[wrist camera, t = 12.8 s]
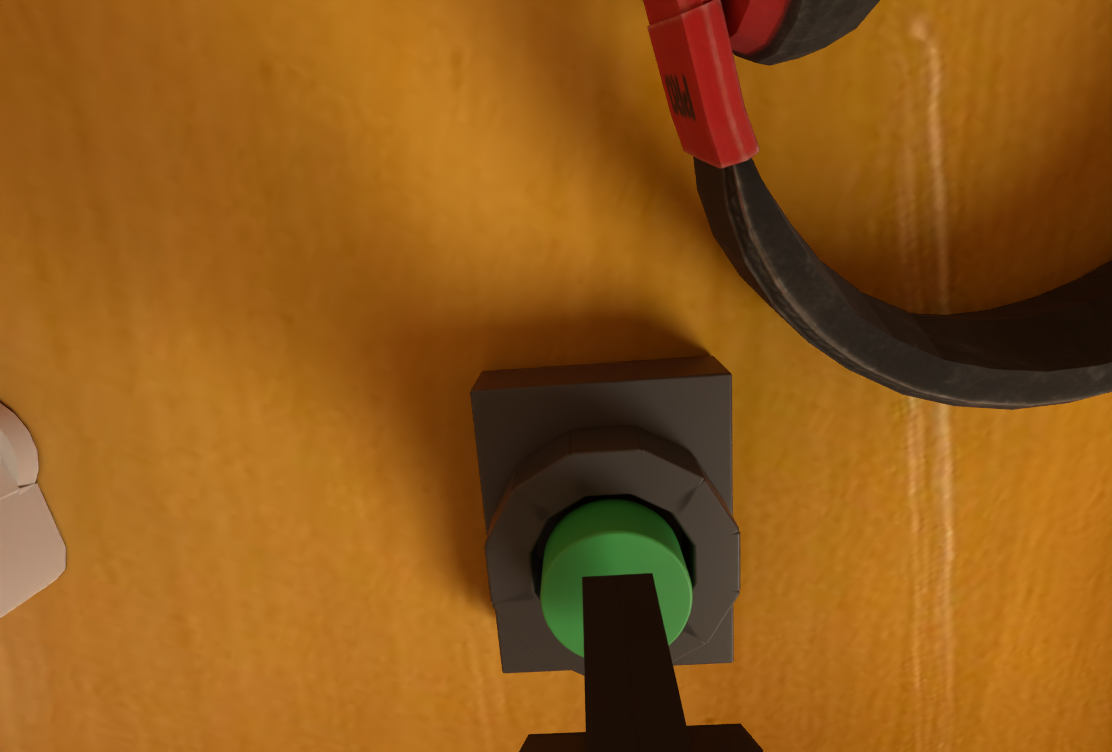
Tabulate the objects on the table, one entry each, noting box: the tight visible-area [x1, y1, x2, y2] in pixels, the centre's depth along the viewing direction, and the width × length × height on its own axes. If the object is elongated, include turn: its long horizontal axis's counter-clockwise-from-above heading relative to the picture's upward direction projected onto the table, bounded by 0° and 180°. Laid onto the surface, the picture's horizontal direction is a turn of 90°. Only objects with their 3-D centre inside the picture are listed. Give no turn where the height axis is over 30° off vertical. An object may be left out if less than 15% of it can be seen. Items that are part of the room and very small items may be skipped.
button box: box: [470, 356, 740, 676], centre depth 18 cm, size 7×9×4 cm
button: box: [540, 499, 693, 658], centre depth 15 cm, size 4×4×2 cm
